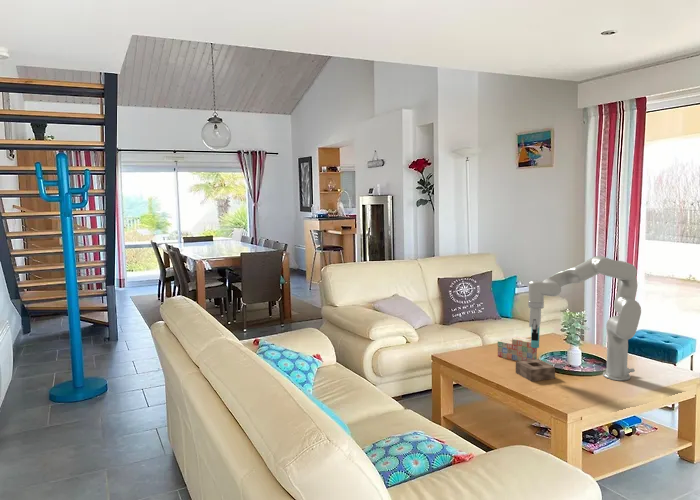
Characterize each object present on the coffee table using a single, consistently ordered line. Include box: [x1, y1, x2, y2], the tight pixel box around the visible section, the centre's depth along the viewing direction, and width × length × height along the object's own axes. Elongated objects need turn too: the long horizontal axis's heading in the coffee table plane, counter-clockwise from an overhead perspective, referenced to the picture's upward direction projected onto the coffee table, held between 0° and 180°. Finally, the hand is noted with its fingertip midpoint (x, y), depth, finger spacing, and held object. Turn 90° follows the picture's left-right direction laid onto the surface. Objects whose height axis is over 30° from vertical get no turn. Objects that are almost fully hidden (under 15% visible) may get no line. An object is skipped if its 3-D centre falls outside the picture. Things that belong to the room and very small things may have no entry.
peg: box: [530, 325, 541, 349], centre depth 276 cm, size 4×4×12 cm
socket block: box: [515, 359, 556, 382], centre depth 278 cm, size 14×14×6 cm
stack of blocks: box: [497, 336, 538, 362], centre depth 306 cm, size 21×6×12 cm, turn 47°
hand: (535, 338), depth 276 cm, fingers closed on peg, 4 cm apart
